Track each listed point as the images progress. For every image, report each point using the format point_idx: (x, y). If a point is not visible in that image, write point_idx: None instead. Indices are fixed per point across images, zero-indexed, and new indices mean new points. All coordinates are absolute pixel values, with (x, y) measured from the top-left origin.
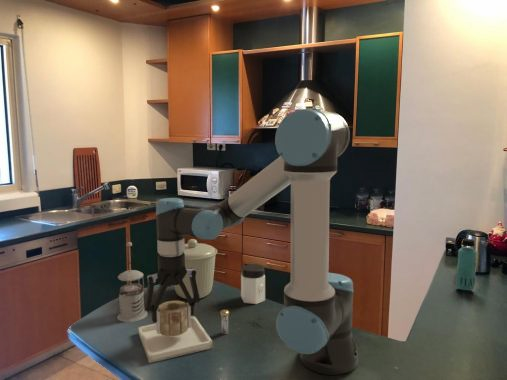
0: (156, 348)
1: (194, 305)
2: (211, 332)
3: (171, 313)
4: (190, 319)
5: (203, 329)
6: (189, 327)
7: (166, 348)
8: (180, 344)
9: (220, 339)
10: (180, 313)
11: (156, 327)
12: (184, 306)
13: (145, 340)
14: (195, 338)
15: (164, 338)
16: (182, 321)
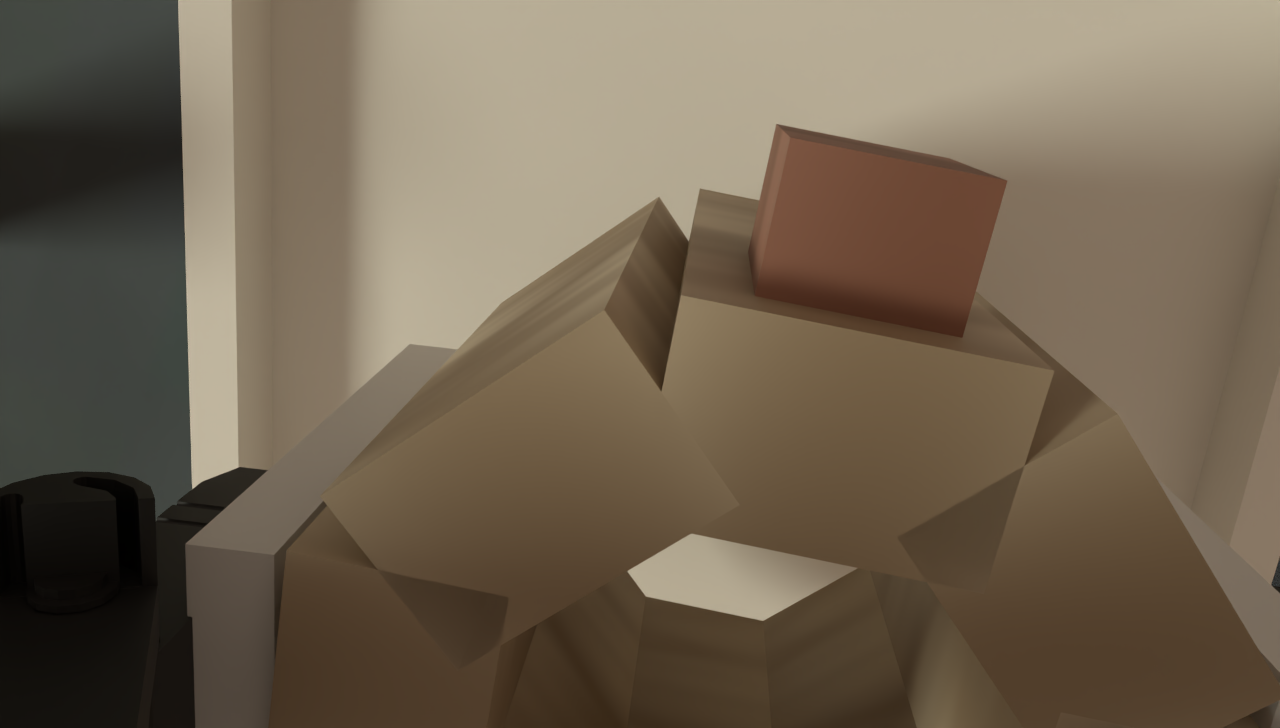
0: (1114, 246)
1: (35, 482)
2: (103, 322)
3: (992, 345)
4: (358, 395)
5: (199, 308)
6: (440, 347)
7: (968, 156)
8: (710, 154)
9: (28, 21)
10: (640, 322)
11: None
12: (382, 600)
13: (1260, 475)
14: (410, 219)
15: None
16: (610, 255)
